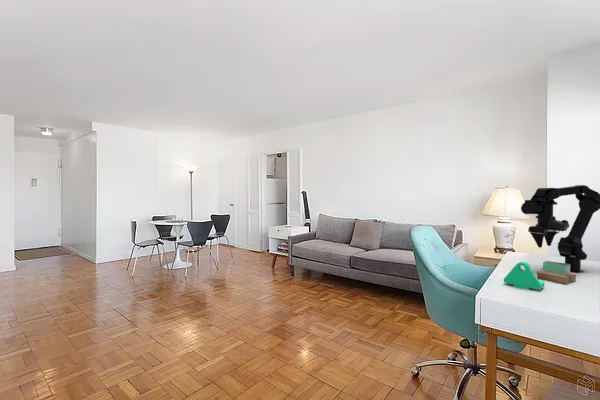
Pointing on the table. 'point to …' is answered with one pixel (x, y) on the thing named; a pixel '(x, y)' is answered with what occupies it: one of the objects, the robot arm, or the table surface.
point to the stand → (556, 277)
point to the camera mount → (523, 277)
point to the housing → (556, 268)
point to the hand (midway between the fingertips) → (544, 246)
